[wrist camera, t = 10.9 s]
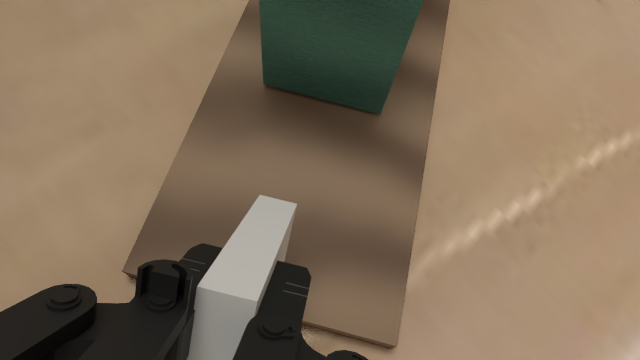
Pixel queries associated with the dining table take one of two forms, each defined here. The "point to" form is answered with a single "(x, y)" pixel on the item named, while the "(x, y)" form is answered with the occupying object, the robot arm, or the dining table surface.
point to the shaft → (336, 47)
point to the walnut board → (308, 178)
